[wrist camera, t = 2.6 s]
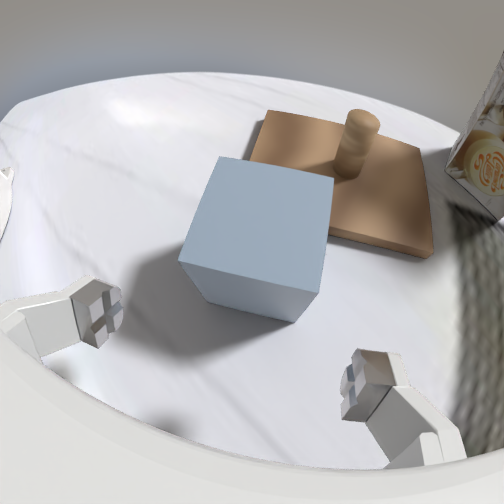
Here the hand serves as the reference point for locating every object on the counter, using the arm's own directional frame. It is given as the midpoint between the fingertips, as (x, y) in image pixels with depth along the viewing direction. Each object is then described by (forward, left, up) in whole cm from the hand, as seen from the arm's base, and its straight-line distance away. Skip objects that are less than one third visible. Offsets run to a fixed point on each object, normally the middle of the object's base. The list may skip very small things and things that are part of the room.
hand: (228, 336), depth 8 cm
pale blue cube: (0, +6, -9) cm, 11 cm away
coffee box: (+22, +22, -9) cm, 32 cm away
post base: (+5, +16, -9) cm, 19 cm away
